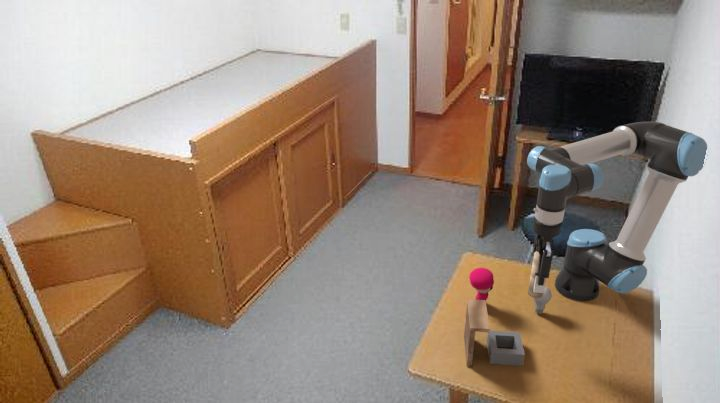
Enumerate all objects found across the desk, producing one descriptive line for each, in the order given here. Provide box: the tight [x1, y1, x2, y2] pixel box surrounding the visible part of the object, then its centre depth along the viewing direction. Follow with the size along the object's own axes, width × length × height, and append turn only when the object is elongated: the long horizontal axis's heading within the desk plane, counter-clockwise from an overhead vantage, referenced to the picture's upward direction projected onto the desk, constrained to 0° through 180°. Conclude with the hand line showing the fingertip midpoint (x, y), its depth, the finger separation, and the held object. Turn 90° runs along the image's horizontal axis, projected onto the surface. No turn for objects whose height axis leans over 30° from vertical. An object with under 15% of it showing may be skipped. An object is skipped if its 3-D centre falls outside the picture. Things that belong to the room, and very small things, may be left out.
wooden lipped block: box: [463, 298, 491, 367], centre depth 167 cm, size 6×13×15 cm, turn 174°
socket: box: [486, 330, 526, 367], centre depth 169 cm, size 10×10×4 cm
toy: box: [469, 267, 495, 302], centre depth 186 cm, size 8×8×15 cm
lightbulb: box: [532, 285, 553, 315], centre depth 183 cm, size 6×6×11 cm
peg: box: [527, 251, 547, 299], centre depth 160 cm, size 4×4×14 cm
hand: (536, 286), depth 162 cm, fingers closed on peg, 4 cm apart
